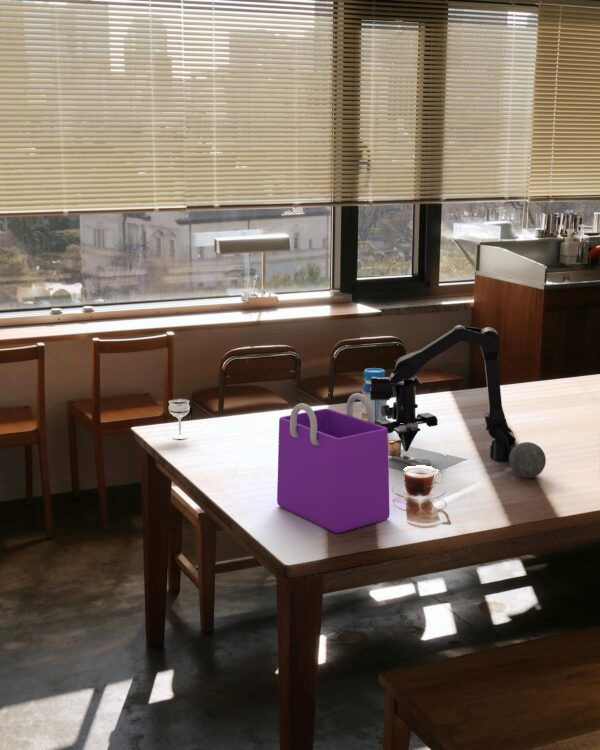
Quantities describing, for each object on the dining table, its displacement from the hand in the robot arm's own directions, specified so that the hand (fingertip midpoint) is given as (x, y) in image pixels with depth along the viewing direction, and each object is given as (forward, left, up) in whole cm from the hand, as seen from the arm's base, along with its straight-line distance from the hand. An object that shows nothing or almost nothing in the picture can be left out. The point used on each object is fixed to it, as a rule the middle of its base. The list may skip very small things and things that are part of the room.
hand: (405, 451), depth 303 cm
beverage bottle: (+27, -20, -3) cm, 33 cm away
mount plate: (-5, +1, -3) cm, 6 cm away
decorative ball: (-35, -8, -3) cm, 36 cm away
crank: (-4, +4, -1) cm, 6 cm away
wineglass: (+69, +27, -3) cm, 74 cm away
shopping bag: (-11, +49, -3) cm, 50 cm away
